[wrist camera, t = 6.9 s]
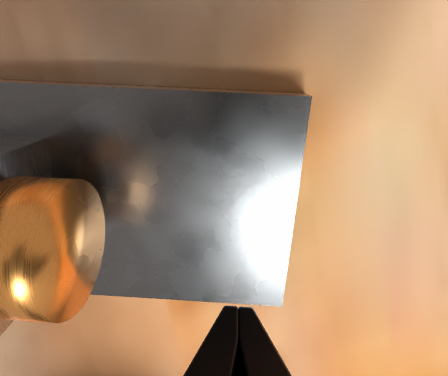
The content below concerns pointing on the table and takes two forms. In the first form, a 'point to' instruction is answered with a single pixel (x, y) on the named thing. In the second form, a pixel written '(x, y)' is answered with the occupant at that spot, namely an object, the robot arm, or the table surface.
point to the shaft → (48, 247)
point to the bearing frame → (170, 180)
